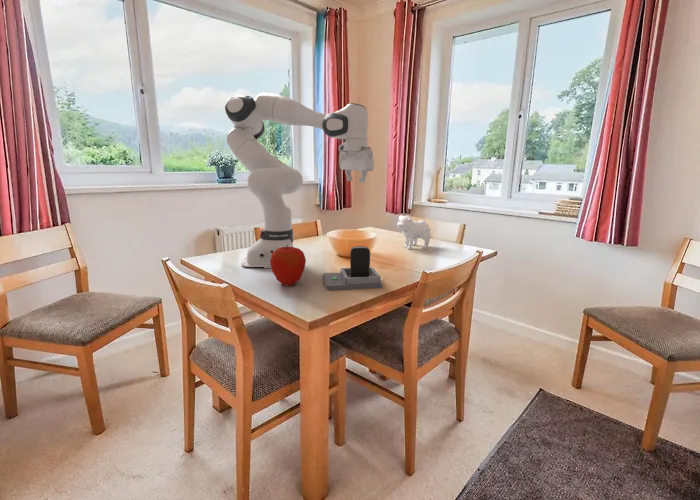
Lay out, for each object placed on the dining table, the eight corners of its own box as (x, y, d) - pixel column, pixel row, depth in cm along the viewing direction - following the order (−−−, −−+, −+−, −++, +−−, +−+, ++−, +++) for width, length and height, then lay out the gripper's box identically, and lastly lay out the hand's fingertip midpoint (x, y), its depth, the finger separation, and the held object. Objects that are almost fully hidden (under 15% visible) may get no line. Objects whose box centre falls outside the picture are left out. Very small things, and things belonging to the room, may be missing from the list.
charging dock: (326, 290, 121) (326, 280, 120) (323, 277, 135) (323, 268, 134) (382, 287, 124) (382, 278, 123) (373, 275, 138) (373, 266, 137)
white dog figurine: (424, 242, 193) (426, 211, 189) (439, 246, 185) (442, 213, 180) (388, 248, 179) (390, 215, 175) (403, 253, 170) (405, 218, 166)
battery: (369, 275, 132) (369, 245, 129) (369, 279, 128) (370, 247, 125) (349, 275, 132) (350, 245, 129) (350, 279, 128) (350, 247, 125)
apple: (312, 286, 125) (311, 246, 122) (279, 292, 119) (277, 250, 115) (297, 276, 135) (296, 239, 132) (266, 281, 129) (264, 243, 125)
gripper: (378, 146, 139) (377, 183, 142) (349, 147, 155) (349, 180, 159) (364, 146, 135) (363, 183, 139) (336, 146, 152) (336, 180, 155)
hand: (355, 181), depth 149 cm, fingers open, 8 cm apart
